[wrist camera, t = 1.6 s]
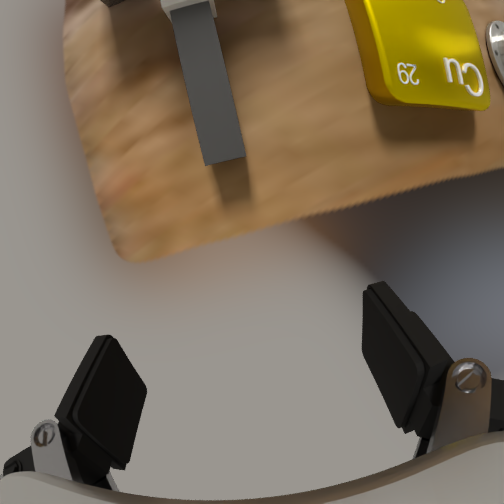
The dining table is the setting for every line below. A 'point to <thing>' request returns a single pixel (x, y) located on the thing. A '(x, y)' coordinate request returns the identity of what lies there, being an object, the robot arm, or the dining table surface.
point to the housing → (111, 2)
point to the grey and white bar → (206, 79)
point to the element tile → (420, 53)
